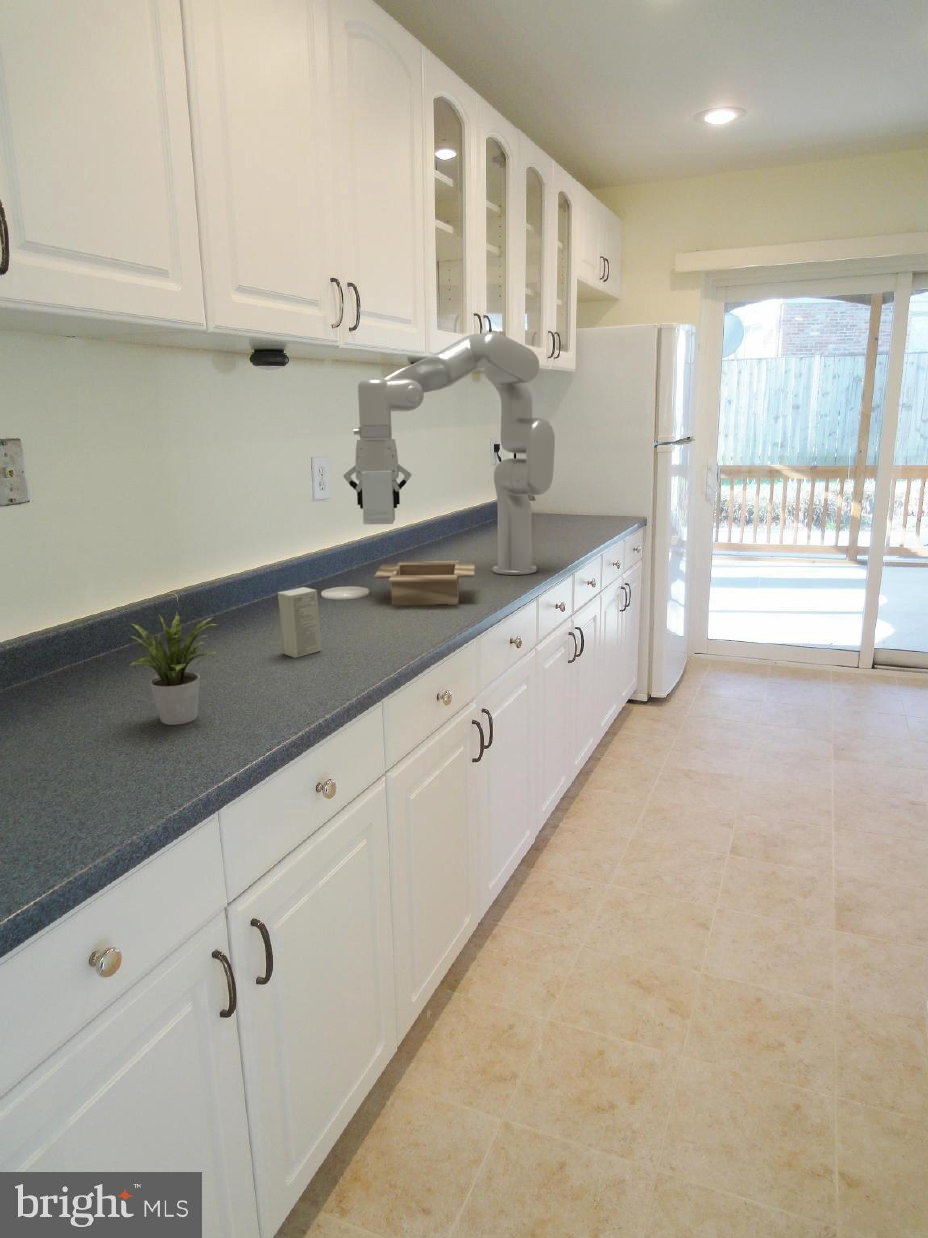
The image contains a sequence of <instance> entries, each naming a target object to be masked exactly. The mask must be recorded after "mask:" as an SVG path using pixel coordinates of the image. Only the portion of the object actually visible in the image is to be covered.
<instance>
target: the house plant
mask: <svg viewBox="0 0 928 1238" xmlns="http://www.w3.org/2000/svg"><path fill="white" fill-rule="evenodd" d="M158 616H159V619H160V621H161V623H162V627H163V631H164V634H165V638H166V643H167V648H168V649H167V650H168V652H167V650H166V647H165V645H164V642H163V639H162V637H161V634H158V635H157V636H156V637H157V642H156V640H155V638H154V637H153V636H152V635H151V633H149V631H147V630H146V629H144V628H142V627H141V626H139V625H138V624H134V623H130V624H131V625H132V626H134V628H136V629H137V631H138V632H139V633H140V635H141V636H142V637H143V638H144V640H145V642H146V643H147V644H146V643H145V642H144V641H142V640H141V639H140V638H137V637H136V636H133V635H131V634H129V636H130V638H131V637H132V638H133V639H134V640H136V641H137V642H139V643H140V645H142V647H144V648H145V649H147V650H148V651H149V657H142V658H139V659H138V660H135V661H133V662H132V663H130V666H134V665H135V666H136V665H148V666H149V667H151V668H152V669H153V670H154V671H155V672H156V673H157V675H158V676H155V677H153V678H152V679H150V681H149V685H150V688H151V692H152V694H153V698H154V702H155V704H156V708H157V712H158V715H159V718H160V722H161V723H162V724H165V725H169V726H170V725H171V726H172V725H173V726H174V725H175V726H176V725H183V724H187V723H191V722H193V721H194V720H196V719H197V717H198V709H199V699H200V698H199V695H200V684H201V683H200V681H201V677H200V674H198V673H195V672H191V671H192V670H190V671H186V670H187V668H188V665H189V664H190V663H191V662H192V661H194V659H196V658H200V657H202V658H201V659H200V661H199V662H198V663H196V664H195V666H197V665H198V664H199V663H201V660H203V659H204V658H206V657H212V658H214V659H216V657H215V656H213V655H212V654H218V653H219V652H217V651H214V652H213V651H212V652H209V653H204V651H203V650H200V649H198V648H199V647H200V645H202V644H204V643H206V640H204V641H202V642H199V643H197V644H195V645H194V646H193V644H194V643H195V642H196V641H197V640H199V639H202V638H205V637H206V638H207V637H208V635H201V636H199V637H198V638H197V636H198V635H199V633H200V632H201V631H202V630H204V629H206V628H207V627H211V626H216V625H217V626H218V625H219V623H210V624H206V623H207V622H208V621H210V620H212V619H213V618H214V616H212V617H209V618H207V619H205V620H203V621H201V622H200V623H198V624H197V625H196V627H194V629H192V631H190V633H188V634H187V635H185V636H183V637H181V633H182V626H181V622H180V615H179V613H178V611H176V612H175V617H174V619H173V621H172V622H171V626H170V629H169V627H168V625H167V624H166V622H165V620H164V618H163V617H162V616H161V615H160V614H158ZM205 624H206V625H205ZM184 640H185V642H184V644H183V645H182V647H180V645H181V642H183V641H184ZM192 646H193V647H192ZM200 652H203V653H200ZM199 653H200V654H199Z"/></svg>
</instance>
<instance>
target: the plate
mask: <svg viewBox="0 0 928 1238" xmlns="http://www.w3.org/2000/svg"><path fill="white" fill-rule="evenodd" d="M320 594H321V597H322V598H324V599H326V600H327V599H328V600H337V601H338V600H342V601H343V600H354V599H359V598H360V599H361V598H364V597H368V596H369V595H370V589H369V588H368V587H364V586H363V587H362V586H354V585H353V586H351V585H349V586H337V587H331V588H327V589H324V590H321V592H320Z"/></svg>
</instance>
